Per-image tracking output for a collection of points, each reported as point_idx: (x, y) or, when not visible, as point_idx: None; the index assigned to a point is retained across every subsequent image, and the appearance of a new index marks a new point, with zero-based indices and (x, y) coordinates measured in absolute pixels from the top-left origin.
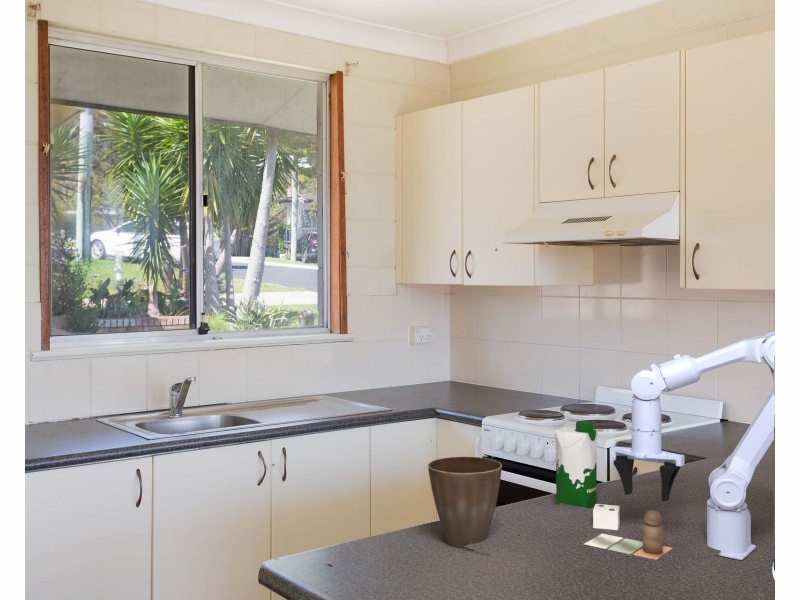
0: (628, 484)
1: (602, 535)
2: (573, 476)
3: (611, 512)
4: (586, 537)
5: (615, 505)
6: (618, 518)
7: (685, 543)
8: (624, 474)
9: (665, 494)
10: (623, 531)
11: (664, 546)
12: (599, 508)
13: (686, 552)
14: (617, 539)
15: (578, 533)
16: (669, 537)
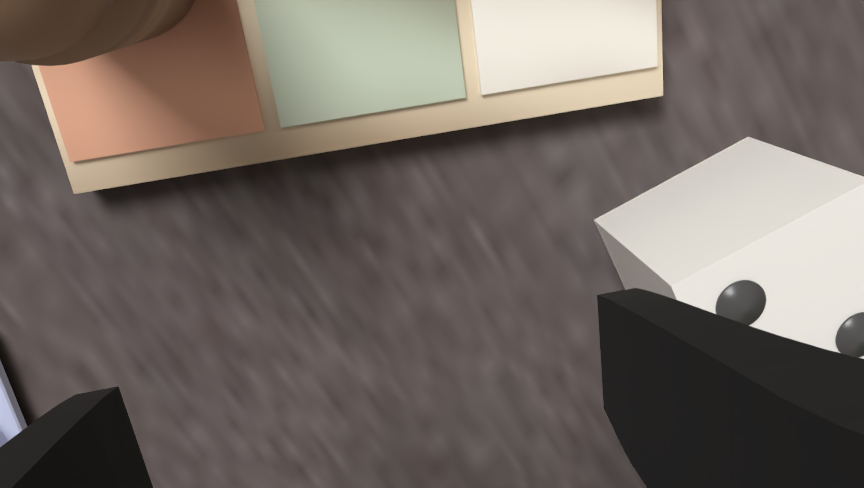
0: (667, 396)
1: (632, 21)
2: None
3: (717, 257)
4: (745, 12)
5: None
6: None
7: (179, 409)
8: (808, 398)
9: (10, 443)
10: None
11: (134, 141)
12: (842, 260)
13: (48, 254)
14: (494, 19)
15: (829, 52)
16: (325, 434)
